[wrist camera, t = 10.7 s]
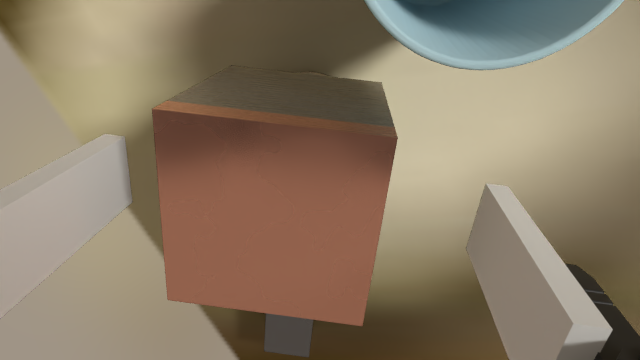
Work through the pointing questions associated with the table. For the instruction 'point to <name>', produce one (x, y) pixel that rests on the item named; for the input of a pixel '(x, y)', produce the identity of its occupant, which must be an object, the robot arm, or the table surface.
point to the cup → (489, 28)
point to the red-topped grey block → (274, 191)
